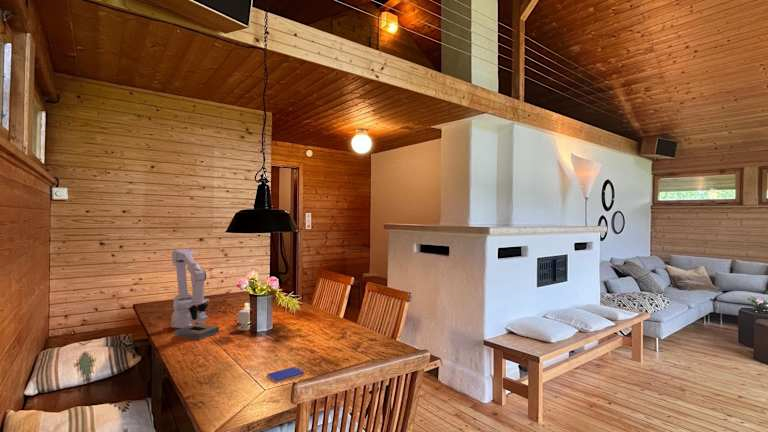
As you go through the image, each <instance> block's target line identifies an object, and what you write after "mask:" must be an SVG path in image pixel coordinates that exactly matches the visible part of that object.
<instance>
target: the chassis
mask: <svg viewBox="0 0 768 432" xmlns="http://www.w3.org/2000/svg"><path fill="white" fill-rule="evenodd" d="M219 331H220V326H216V325H215V326H214V325H209V324H201V323H193V325H190V326H187V327H184V328H177V329H175V330H174V337H178V338H184V339H185V338H186V339H190V340H191V339H192V340H197V341H198V340H199V341H200V340H202V339H205V338H207V337H211V336H212V335H215V334H218V333H220V332H219Z"/></svg>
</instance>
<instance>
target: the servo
mask: <svg viewBox="0 0 768 432" xmlns="http://www.w3.org/2000/svg"><path fill="white" fill-rule="evenodd" d="M206 314H207V313H206V311H205V312H203V311H197V319H196V320H192V316H191V313H190V315H187V317H190V318H189V322H192V323H195V324H201V323H204V322H206V319H207V318H209V315H206Z"/></svg>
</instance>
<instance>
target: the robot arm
mask: <svg viewBox="0 0 768 432" xmlns="http://www.w3.org/2000/svg"><path fill="white" fill-rule="evenodd" d="M193 257H194V251H193V249H192V248H183V249H181V248H179V249H173V251H172V254H171V258H172V264H173V265H174V266H175V268H176V280H177V291H178V293H177V295H176V296H174V298H173V306H172V307H173V308H172V309H173V310H174V311H173V313H172V315H171V325H170V328H175V329H176V328H177V329H181V328H184V327H187V326H190V325H193V324H194V323H193V324H192V323H191V322H189V318H190V317H187V315H190V313H191V316H192V320H196V319H197V311H203V312H206V309H207V307H208V306H209V304H208V303H210V299H209V298H205V281H206V280H207V272H206V270H205V269H202V268H201V266H200V265H199V264H198V263H197V262H195V260H194V258H193ZM186 266H187V267H186ZM187 271H188V272H189V274H190V280H191V283H190V284H191V286H192V289H191V292H192V293H189V288H188V277H187V276H188V275H187Z"/></svg>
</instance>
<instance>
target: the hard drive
mask: <svg viewBox="0 0 768 432" xmlns="http://www.w3.org/2000/svg"><path fill="white" fill-rule="evenodd" d="M304 375H305V371H303V370H301V369H300V368H298V367H296V366H291V367H289V368H284V369H280V370H278V371H274V372H270V373H266V377H268V378H269V379H270V380H272V381H273V382H274V383H280V382H284V381H287V380H290V379H294V378H299V377H302V376H304Z"/></svg>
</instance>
